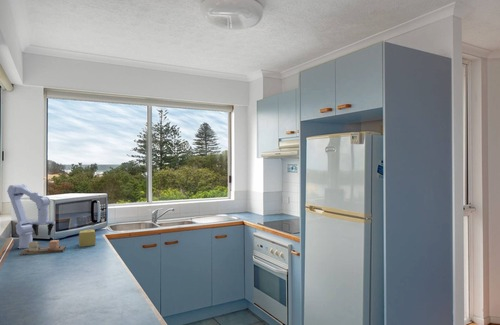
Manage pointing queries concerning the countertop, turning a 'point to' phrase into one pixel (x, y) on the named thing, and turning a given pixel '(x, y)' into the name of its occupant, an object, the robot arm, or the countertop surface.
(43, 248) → the puzzle board
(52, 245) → the terracotta block
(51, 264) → the countertop surface
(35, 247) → the maple block
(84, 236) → the cheese
